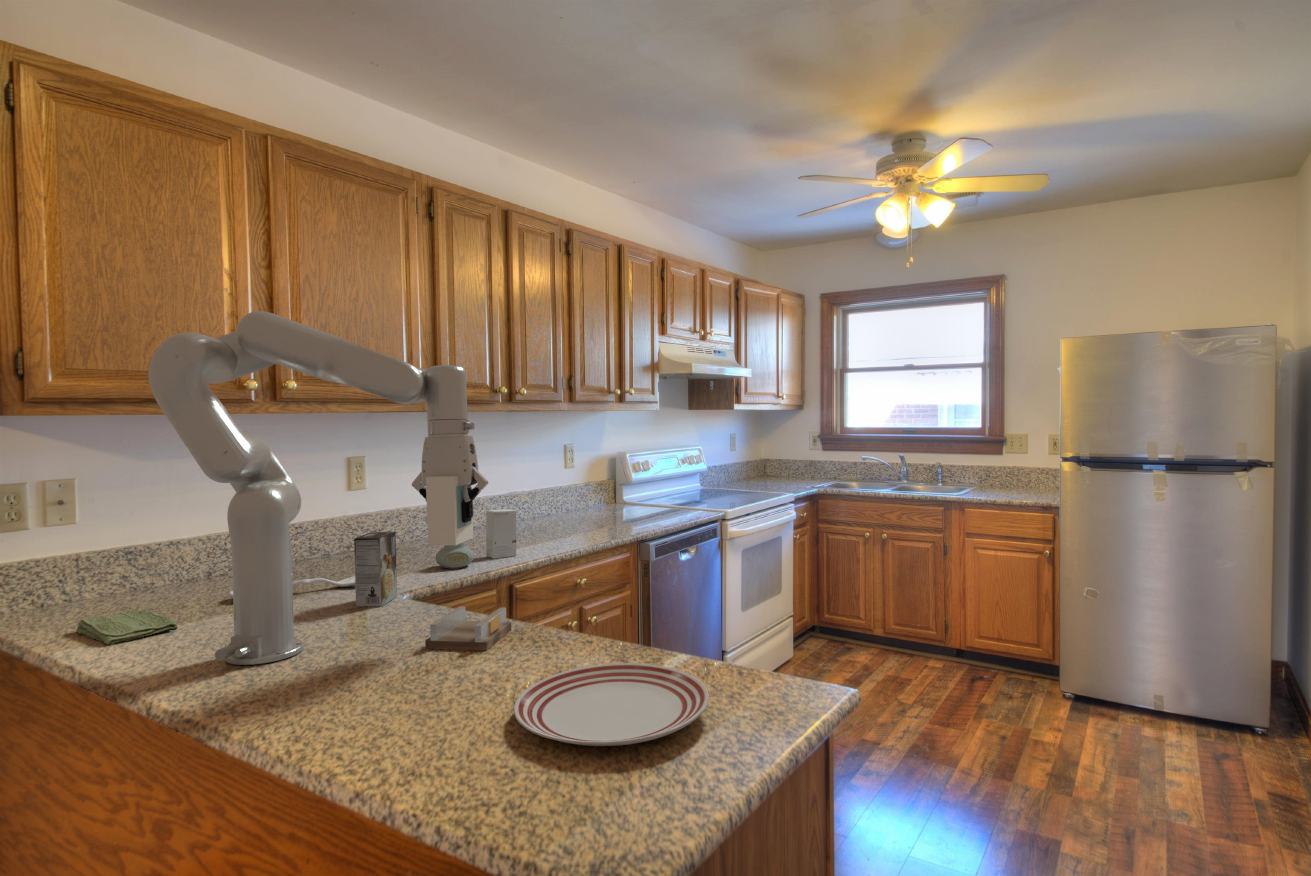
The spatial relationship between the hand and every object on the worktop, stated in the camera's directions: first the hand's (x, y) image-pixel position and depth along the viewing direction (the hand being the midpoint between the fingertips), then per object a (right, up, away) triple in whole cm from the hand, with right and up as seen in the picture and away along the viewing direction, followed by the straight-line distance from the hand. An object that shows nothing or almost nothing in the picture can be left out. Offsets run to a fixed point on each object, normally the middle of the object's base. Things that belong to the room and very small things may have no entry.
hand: (451, 520), depth 135 cm
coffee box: (-26, -23, +29) cm, 46 cm away
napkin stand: (+4, -23, 0) cm, 23 cm away
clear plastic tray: (+4, -21, 0) cm, 22 cm away
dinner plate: (+34, -24, -37) cm, 55 cm away
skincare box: (-9, -22, +85) cm, 89 cm away
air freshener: (-19, -22, +70) cm, 76 cm away
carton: (0, -4, 0) cm, 4 cm away
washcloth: (-69, -24, +7) cm, 73 cm away
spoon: (-49, -23, +40) cm, 67 cm away
